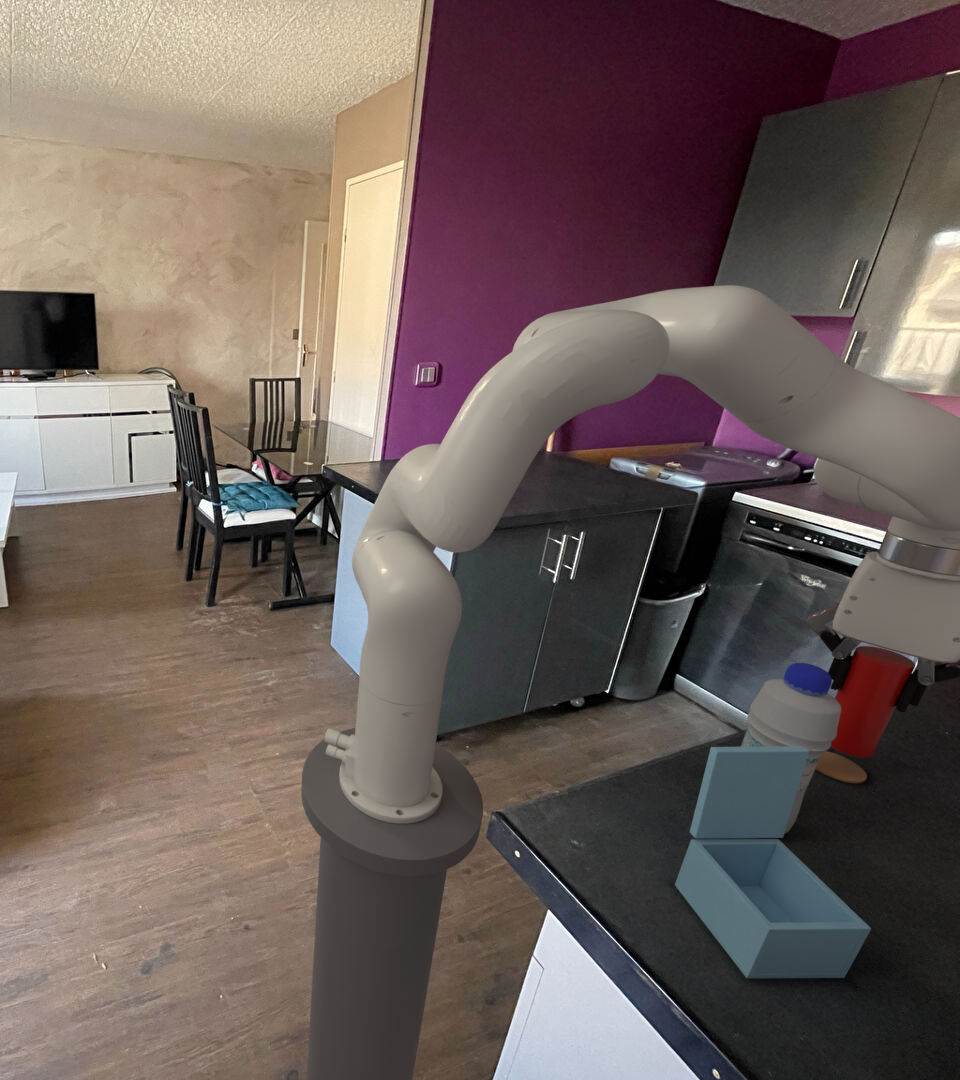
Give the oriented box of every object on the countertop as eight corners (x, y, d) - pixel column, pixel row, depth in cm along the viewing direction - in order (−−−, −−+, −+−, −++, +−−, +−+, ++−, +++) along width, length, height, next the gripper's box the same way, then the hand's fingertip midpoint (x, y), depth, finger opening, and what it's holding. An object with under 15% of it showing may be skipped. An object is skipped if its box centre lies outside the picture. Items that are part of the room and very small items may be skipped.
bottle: (728, 834, 63) (789, 679, 56) (704, 790, 69) (756, 645, 62) (804, 851, 61) (877, 692, 54) (773, 804, 67) (835, 655, 60)
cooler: (844, 978, 49) (871, 928, 47) (746, 978, 49) (769, 929, 47) (758, 884, 58) (778, 838, 56) (674, 885, 58) (690, 839, 56)
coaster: (796, 761, 74) (797, 759, 74) (814, 745, 76) (815, 743, 76) (856, 789, 69) (857, 787, 69) (873, 772, 72) (874, 770, 72)
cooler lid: (810, 751, 52) (801, 745, 53) (717, 751, 52) (710, 746, 53) (783, 838, 55) (775, 831, 56) (695, 838, 55) (688, 832, 56)
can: (808, 733, 73) (844, 647, 69) (840, 729, 74) (878, 644, 70) (850, 759, 69) (891, 670, 64) (884, 755, 70) (927, 666, 65)
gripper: (1058, 569, 59) (978, 717, 65) (827, 527, 71) (779, 655, 77) (1064, 590, 54) (978, 747, 61) (817, 541, 66) (767, 676, 73)
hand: (867, 694), depth 69 cm, fingers closed on can, 4 cm apart
